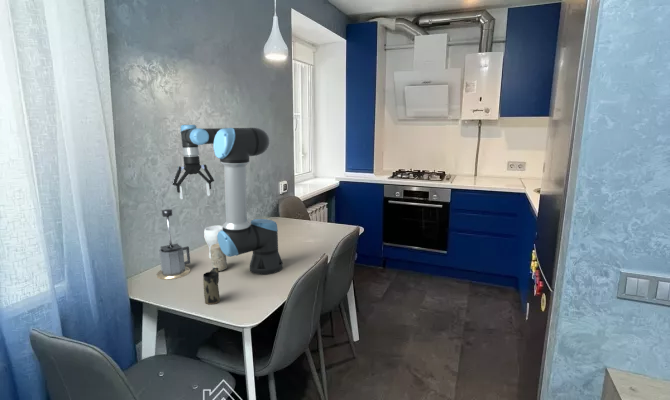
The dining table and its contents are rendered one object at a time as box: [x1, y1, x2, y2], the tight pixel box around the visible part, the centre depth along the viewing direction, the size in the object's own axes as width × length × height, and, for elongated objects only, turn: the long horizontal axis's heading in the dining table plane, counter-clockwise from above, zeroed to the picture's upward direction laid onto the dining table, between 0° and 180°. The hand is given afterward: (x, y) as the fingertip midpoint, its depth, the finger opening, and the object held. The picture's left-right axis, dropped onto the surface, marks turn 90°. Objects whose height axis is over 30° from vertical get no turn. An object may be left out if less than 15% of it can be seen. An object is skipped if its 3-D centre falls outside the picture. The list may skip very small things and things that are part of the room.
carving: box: [209, 243, 228, 271], centre depth 168 cm, size 6×8×12 cm
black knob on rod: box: [161, 208, 177, 252], centre depth 162 cm, size 6×6×19 cm
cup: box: [203, 225, 223, 259], centre depth 185 cm, size 11×11×15 cm
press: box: [156, 243, 191, 280], centre depth 165 cm, size 14×14×12 cm
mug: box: [202, 267, 221, 305], centre depth 139 cm, size 8×6×12 cm
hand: (195, 197), depth 189 cm, fingers open, 13 cm apart
